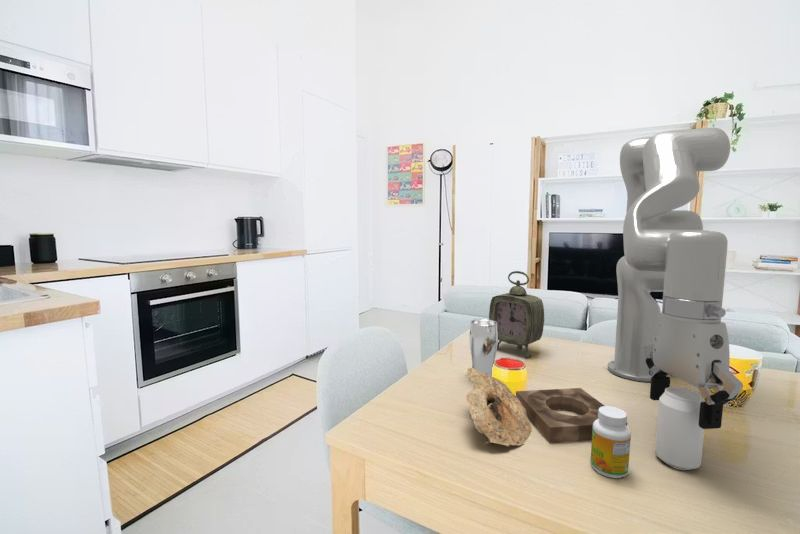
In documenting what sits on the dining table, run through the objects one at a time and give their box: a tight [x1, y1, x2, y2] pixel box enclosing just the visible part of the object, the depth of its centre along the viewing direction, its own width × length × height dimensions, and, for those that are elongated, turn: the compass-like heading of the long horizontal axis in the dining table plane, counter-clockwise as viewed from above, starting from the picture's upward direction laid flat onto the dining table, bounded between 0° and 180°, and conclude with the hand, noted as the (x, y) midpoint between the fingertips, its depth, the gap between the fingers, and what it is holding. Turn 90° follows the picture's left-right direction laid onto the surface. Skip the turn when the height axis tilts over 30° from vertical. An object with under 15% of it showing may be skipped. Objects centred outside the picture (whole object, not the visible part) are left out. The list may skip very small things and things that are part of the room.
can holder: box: [515, 387, 628, 444], centre depth 77 cm, size 15×15×3 cm
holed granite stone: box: [465, 367, 533, 447], centre depth 76 cm, size 18×14×8 cm
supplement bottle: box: [590, 405, 632, 479], centre depth 62 cm, size 5×5×10 cm
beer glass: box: [469, 318, 499, 376], centre depth 96 cm, size 7×7×15 cm
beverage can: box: [654, 386, 705, 471], centre depth 63 cm, size 6×6×12 cm
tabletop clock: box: [488, 270, 545, 358], centre depth 117 cm, size 14×9×25 cm, turn 43°
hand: (682, 412), depth 62 cm, fingers open, 9 cm apart
